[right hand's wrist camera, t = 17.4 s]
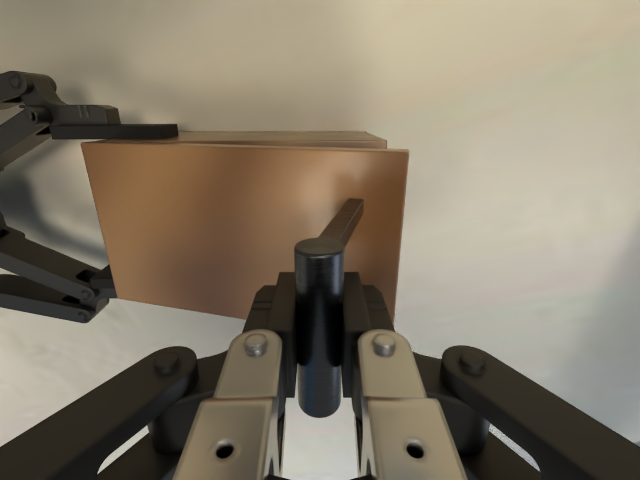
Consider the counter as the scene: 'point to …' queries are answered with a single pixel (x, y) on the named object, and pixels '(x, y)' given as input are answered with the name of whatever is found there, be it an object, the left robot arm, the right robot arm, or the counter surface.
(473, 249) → the counter surface
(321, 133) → the chest
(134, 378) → the right robot arm
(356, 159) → the lid
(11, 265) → the left robot arm
